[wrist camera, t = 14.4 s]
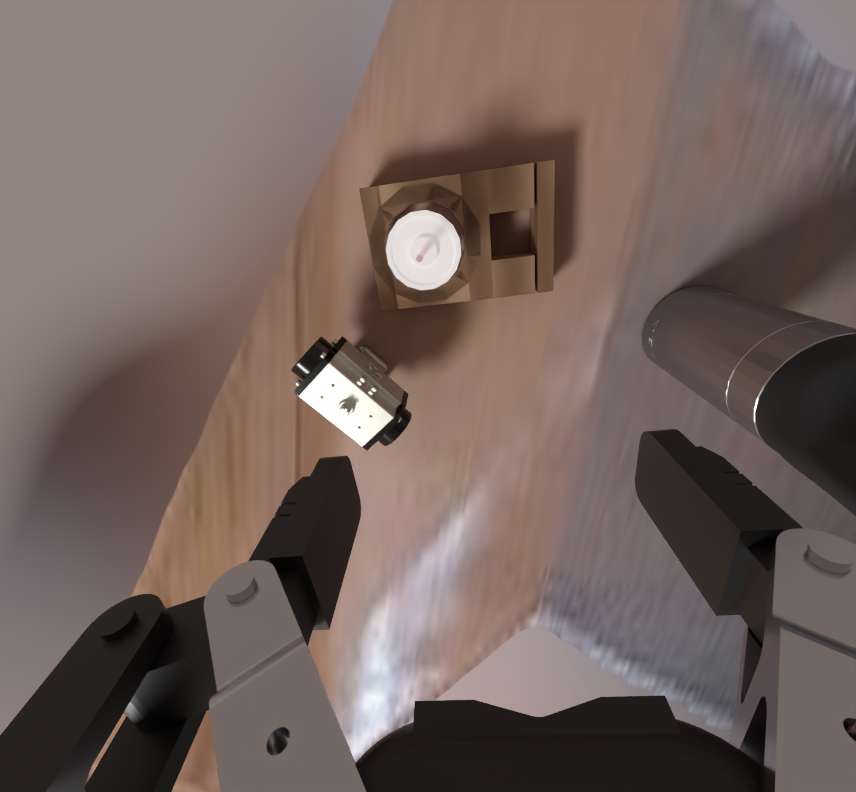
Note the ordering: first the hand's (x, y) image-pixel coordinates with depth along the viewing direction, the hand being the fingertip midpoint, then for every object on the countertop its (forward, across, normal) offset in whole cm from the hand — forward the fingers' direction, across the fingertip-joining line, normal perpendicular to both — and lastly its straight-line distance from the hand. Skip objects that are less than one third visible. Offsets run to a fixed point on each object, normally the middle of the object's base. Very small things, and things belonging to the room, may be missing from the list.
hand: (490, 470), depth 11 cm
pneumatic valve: (+33, +11, +8) cm, 36 cm away
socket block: (+33, 0, -4) cm, 33 cm away
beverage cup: (+33, +3, -4) cm, 34 cm away
